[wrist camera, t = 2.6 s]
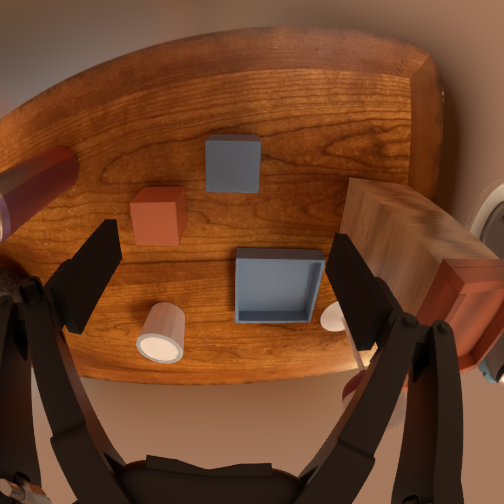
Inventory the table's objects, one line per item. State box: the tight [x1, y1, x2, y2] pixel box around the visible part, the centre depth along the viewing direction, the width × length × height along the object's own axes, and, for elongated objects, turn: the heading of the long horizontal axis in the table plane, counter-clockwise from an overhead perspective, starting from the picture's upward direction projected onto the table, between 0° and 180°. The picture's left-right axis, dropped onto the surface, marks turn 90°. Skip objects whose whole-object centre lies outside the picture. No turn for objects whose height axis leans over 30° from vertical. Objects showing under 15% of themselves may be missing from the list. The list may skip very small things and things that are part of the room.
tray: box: [235, 248, 326, 323], centre depth 37 cm, size 11×11×2 cm
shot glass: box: [136, 302, 185, 364], centre depth 37 cm, size 7×7×7 cm
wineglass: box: [320, 301, 407, 431], centre depth 33 cm, size 8×9×20 cm
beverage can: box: [0, 146, 79, 242], centre depth 21 cm, size 6×6×15 cm
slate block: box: [205, 134, 261, 193], centre depth 26 cm, size 5×5×5 cm
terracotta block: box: [129, 186, 187, 246], centre depth 29 cm, size 5×5×5 cm
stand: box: [339, 177, 504, 392], centre depth 23 cm, size 11×11×22 cm
